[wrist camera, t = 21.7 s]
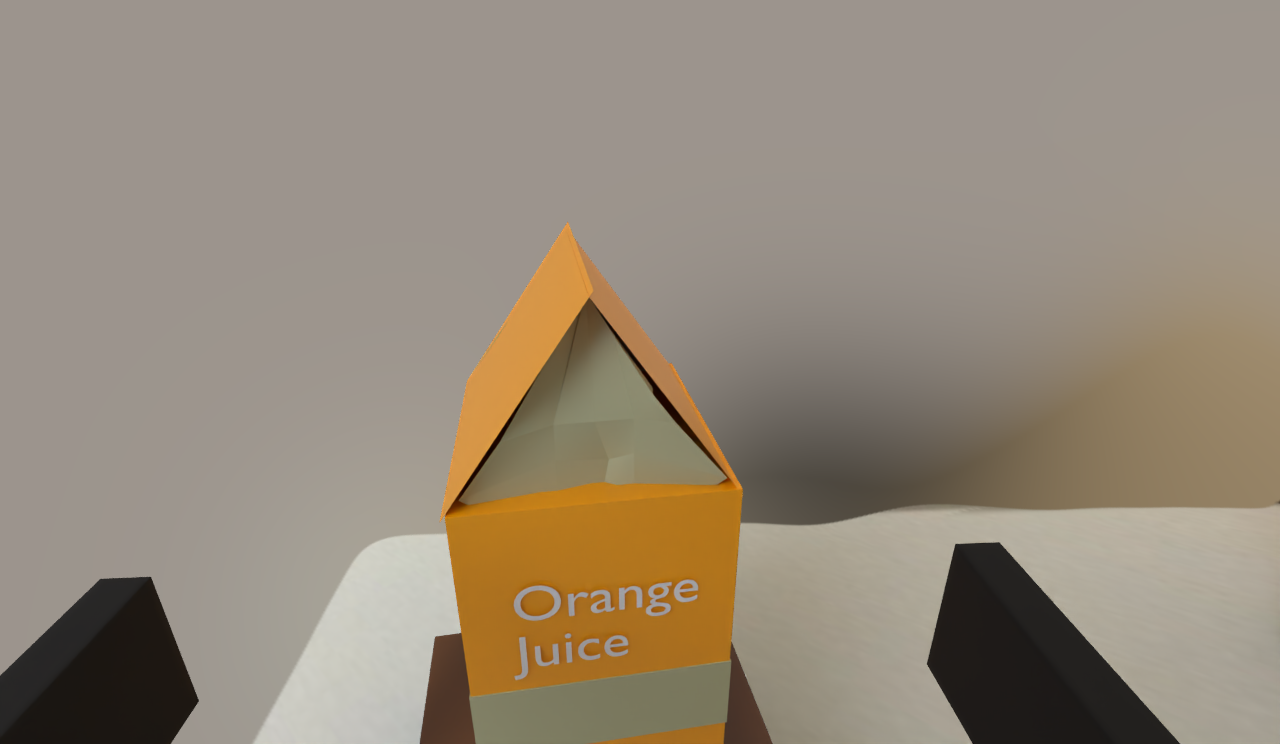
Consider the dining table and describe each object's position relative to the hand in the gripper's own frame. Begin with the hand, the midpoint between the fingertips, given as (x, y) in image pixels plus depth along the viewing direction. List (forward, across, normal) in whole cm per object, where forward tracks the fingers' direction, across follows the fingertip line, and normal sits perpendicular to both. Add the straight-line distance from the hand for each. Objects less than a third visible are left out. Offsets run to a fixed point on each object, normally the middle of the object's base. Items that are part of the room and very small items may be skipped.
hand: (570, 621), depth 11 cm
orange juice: (+9, 0, -16) cm, 18 cm away
